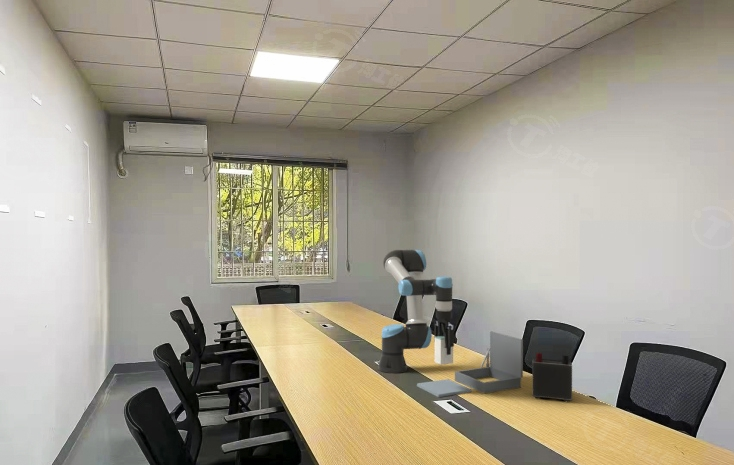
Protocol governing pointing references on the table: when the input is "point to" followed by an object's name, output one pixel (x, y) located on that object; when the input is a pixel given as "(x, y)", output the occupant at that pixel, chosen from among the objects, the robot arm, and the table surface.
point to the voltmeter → (552, 378)
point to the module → (441, 351)
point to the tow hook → (487, 360)
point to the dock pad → (443, 388)
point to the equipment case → (497, 366)
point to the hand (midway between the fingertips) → (443, 359)
